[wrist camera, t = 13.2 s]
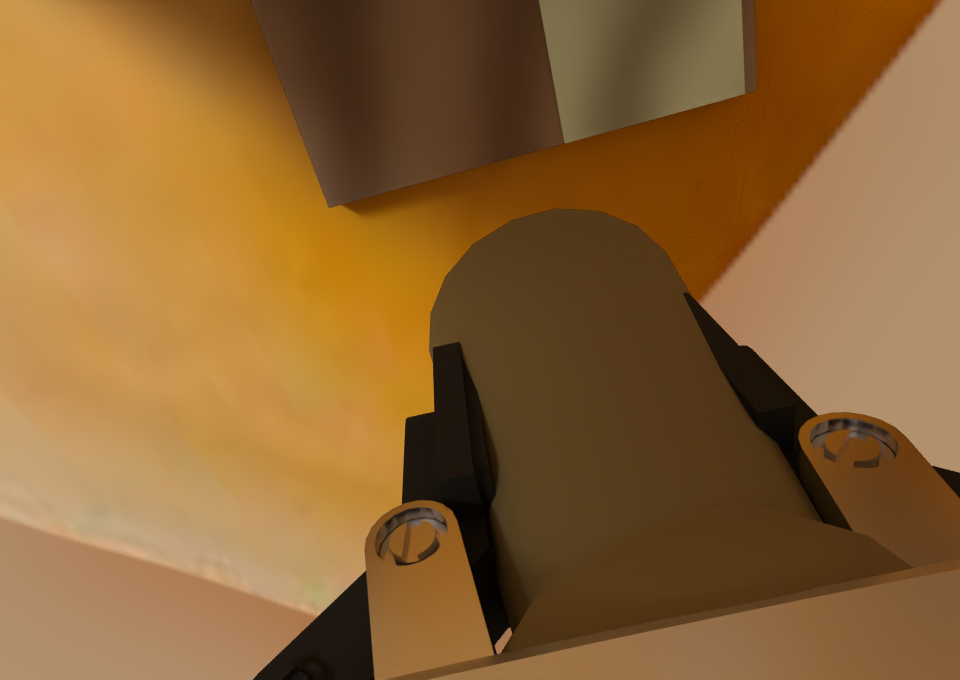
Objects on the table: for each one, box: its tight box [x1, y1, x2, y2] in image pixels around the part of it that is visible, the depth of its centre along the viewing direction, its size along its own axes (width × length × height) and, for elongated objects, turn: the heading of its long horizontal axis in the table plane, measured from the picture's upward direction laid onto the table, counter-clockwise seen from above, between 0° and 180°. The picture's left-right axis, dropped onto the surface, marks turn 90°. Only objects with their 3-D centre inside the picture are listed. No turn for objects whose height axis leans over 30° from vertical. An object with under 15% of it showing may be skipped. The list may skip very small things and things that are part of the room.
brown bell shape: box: [429, 209, 913, 653], centre depth 9 cm, size 6×6×11 cm
